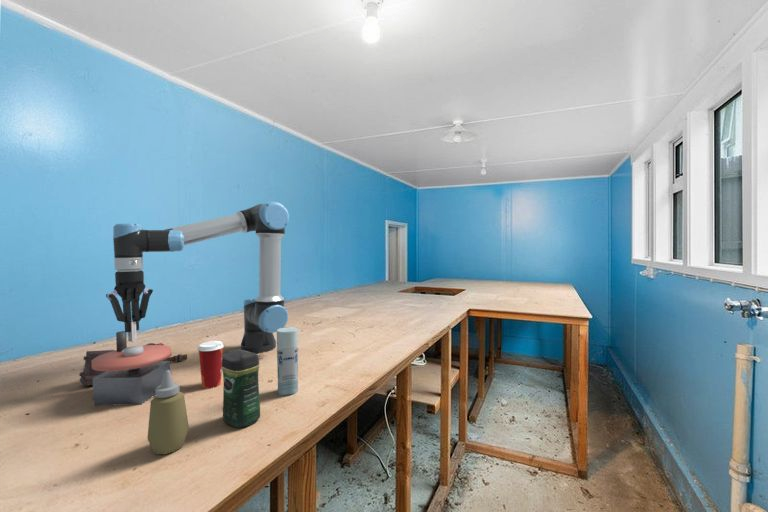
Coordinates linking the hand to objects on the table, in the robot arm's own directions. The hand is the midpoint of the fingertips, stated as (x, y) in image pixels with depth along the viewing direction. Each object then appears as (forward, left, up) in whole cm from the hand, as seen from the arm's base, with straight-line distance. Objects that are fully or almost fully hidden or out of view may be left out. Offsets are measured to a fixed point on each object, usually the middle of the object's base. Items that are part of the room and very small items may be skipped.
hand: (132, 340), depth 112 cm
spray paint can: (-53, +7, -15) cm, 56 cm away
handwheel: (-5, +7, -7) cm, 11 cm away
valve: (+22, -27, -16) cm, 39 cm away
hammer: (+6, -12, -15) cm, 21 cm away
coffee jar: (-45, +24, -15) cm, 53 cm away
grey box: (-5, +7, -15) cm, 17 cm away
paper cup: (-26, +1, -15) cm, 30 cm away
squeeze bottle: (-33, +36, -15) cm, 51 cm away
